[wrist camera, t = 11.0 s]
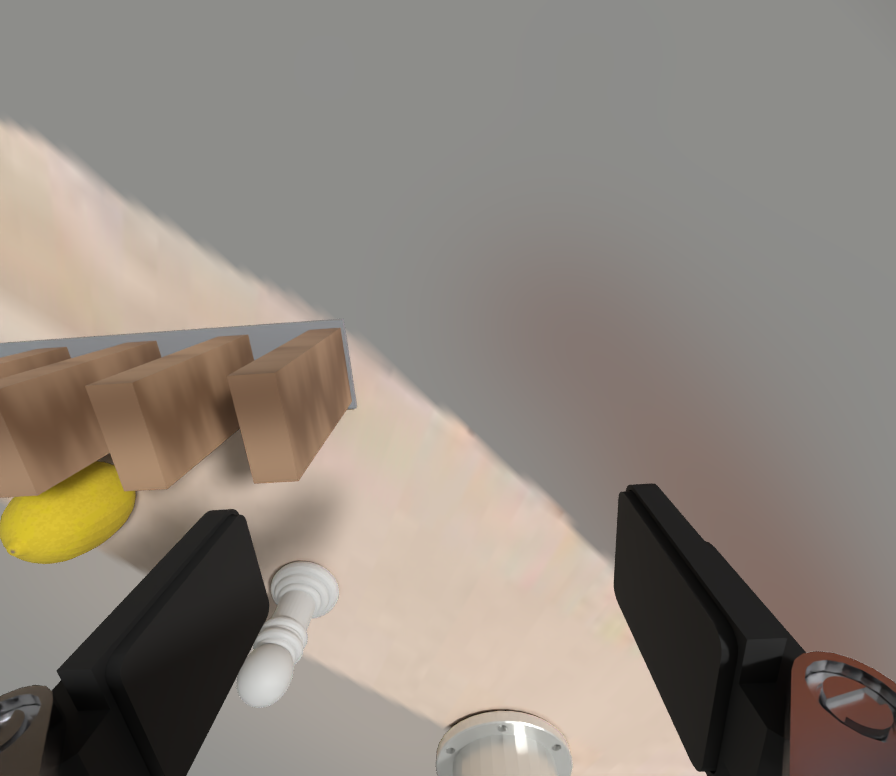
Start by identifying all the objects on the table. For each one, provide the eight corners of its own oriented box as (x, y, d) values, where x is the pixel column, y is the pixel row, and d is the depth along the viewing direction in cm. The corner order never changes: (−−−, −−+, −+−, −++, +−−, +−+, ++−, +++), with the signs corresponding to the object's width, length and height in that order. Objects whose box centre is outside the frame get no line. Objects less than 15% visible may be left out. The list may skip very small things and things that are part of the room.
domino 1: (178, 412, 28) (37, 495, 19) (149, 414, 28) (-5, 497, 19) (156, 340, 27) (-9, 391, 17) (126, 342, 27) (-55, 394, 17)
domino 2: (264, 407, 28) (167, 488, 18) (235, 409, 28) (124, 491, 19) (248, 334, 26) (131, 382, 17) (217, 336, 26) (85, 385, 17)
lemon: (135, 521, 32) (33, 607, 24) (70, 474, 30) (-59, 550, 23) (175, 476, 30) (82, 553, 23) (109, 426, 29) (-13, 489, 21)
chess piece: (264, 595, 34) (199, 712, 25) (288, 547, 32) (228, 656, 24) (324, 620, 34) (281, 742, 26) (351, 575, 33) (315, 689, 24)
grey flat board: (357, 406, 28) (356, 408, 28) (-37, 431, 29) (-42, 432, 29) (343, 318, 26) (342, 319, 26) (-77, 348, 27) (-83, 349, 27)
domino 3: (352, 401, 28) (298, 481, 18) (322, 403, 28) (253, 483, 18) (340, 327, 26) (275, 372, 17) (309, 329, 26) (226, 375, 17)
